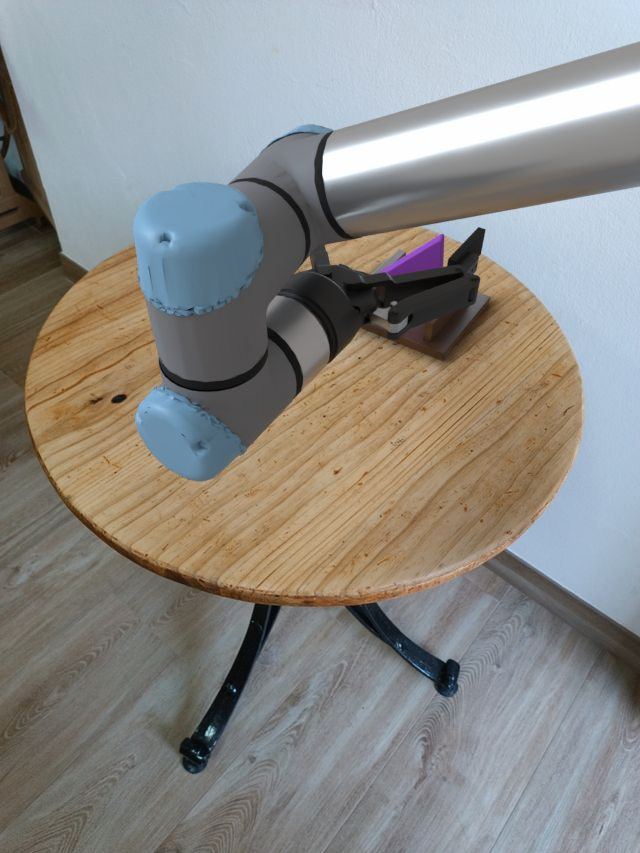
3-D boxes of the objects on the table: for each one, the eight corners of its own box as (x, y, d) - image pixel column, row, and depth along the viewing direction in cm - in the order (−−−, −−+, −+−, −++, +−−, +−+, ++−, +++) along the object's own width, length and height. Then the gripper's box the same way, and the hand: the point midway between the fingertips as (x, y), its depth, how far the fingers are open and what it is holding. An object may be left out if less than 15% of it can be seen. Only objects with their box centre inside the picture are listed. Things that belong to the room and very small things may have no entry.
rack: (489, 303, 92) (495, 277, 89) (442, 361, 84) (447, 334, 81) (385, 266, 98) (387, 240, 95) (332, 316, 90) (333, 289, 87)
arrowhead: (394, 316, 93) (366, 255, 87) (397, 308, 94) (369, 247, 88) (465, 306, 87) (440, 240, 81) (468, 298, 88) (443, 232, 82)
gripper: (186, 318, 64) (313, 219, 76) (426, 424, 54) (527, 292, 67) (173, 247, 58) (312, 153, 71) (438, 352, 49) (545, 222, 61)
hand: (417, 220), depth 69 cm, fingers open, 13 cm apart
